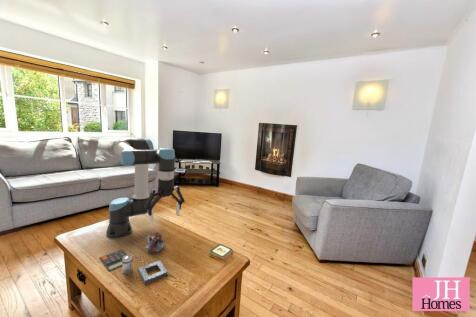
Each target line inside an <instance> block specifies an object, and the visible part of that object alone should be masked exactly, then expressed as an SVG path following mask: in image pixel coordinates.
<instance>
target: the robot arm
mask: <svg viewBox="0 0 476 317" xmlns="http://www.w3.org/2000/svg"><path fill="white" fill-rule="evenodd" d="M154 147H155V146H154V144H153V141H152V140H151V139H150V138H143V137H141V138H140V137H138V138H136V137H135V138H134V137H133V138H132V137H126V138H125V137H124V138H121V139H117V140H116V141H115V142H114V143H113V145H112V152H114V154H115V155H117V156H119V157H120V163H121V165H123V166H134V193H133V195H132V196H131V197H132V198H131V199H130V198H129V197H118V198H115V199H113V200H111V201H110V203H109V204H108V206H109V207H108V211H109V212H108V215H109V216H108V217H109V218H108V220H109V221H108V222H109V223H108V226H107V229H106V232H105V234H106V235H105V236H106V237H107V238H110V239H121V238H125V237H127V236H129V235H130V234H132V232H133V226H132V225H131V222H130V217H136V216H141V215H146V214H148V216H149V221H150V222H151V223H153V222H154V214H155V212H154V211H155V210H154V207H155V206H156V205H157V204H158V202H159V201H160V199H162V198H166V197H170V196H171V197H172V198H173V199H174V201H176V203H175V215H176V216H177V217H180V211H181V210H182V204H184V203H185V201H186V200H185V199H184V197H183V194H182V192H181V190H180V188H181V187H180V186H178V185H175V183H174V182H175V161H176V159H175V158H176V155H175V152H176V151H175V149H174V148H172V147H171V148H170V147H160V148H154ZM149 165H158V174H157V175H158V176H157V178H158V179H157V188H155V189H154V188H151V191H150V194H149ZM174 190H175V193H177V194H174ZM176 195H177V196H178V197H177V196H176Z"/></svg>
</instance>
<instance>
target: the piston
mask: <svg viewBox="0 0 476 317" xmlns="http://www.w3.org/2000/svg"><path fill="white" fill-rule="evenodd" d="M133 259H134V258H133V255H132V254H128V253H127V255H125V256H123V258H122V266H121V268H122V274H123V275H129V274H131V273H132V272H133V262H132V261H133Z"/></svg>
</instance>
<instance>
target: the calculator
mask: <svg viewBox="0 0 476 317" xmlns="http://www.w3.org/2000/svg"><path fill="white" fill-rule="evenodd" d="M125 255H128V253H126V252H125V250H123V249H118V250H115V251H114V252H111V253H108V254H106V255H102V256H100V257H99V260H100V262H101V263H102V264H103V265H104V267H105V268H106V270H107V271H108V272H112V271H115V270H116V269H119V268H122V258H123V256H125ZM132 263H133V260H132Z"/></svg>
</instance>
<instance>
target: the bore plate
mask: <svg viewBox="0 0 476 317" xmlns="http://www.w3.org/2000/svg"><path fill="white" fill-rule="evenodd" d="M137 269H138V270H137V271H138V274H139V276H140V277H141V280H142V282H143V284H144V285H147V284H150V283H152V282H155V281H157V280H160V279H162V278H164V277H167V276H168V270H167V268H166V267H165V265H164V264H163V263H162V261H161V260H157V261H154V262H151V263H148V264H145V265H142V266H139V267H138V268H137ZM155 269H157V271H158V272H155V273H152V274H150V275H149V274H148V271H152V270H155Z"/></svg>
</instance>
